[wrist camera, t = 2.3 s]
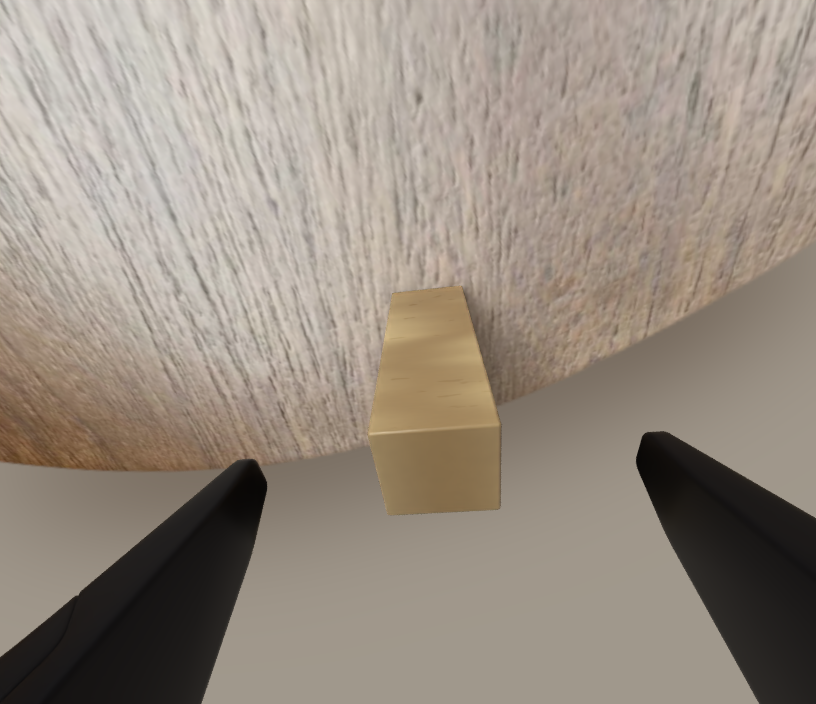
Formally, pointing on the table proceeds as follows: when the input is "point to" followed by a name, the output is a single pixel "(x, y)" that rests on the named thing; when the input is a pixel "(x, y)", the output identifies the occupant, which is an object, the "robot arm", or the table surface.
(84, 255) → the table surface
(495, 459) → the stick
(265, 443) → the table surface
